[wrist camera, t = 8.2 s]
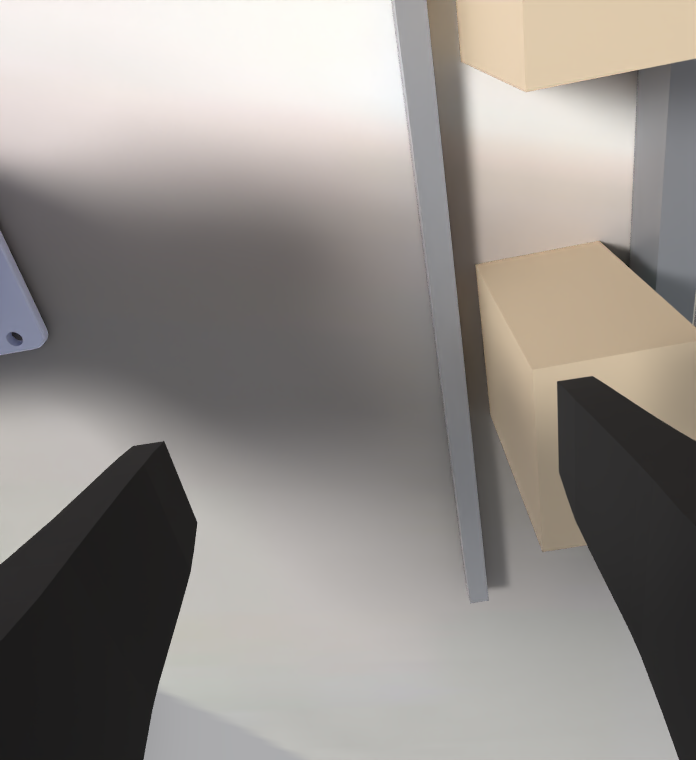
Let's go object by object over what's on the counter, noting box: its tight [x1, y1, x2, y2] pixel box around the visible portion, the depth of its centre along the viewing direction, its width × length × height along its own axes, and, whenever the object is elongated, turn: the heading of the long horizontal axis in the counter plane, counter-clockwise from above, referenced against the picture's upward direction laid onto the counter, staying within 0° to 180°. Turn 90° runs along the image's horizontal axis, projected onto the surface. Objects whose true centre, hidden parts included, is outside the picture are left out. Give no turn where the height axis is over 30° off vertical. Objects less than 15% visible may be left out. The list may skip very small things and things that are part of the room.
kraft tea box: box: [475, 241, 696, 552], centre depth 19 cm, size 4×6×7 cm
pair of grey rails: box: [391, 0, 696, 603], centre depth 21 cm, size 8×26×2 cm, turn 10°
